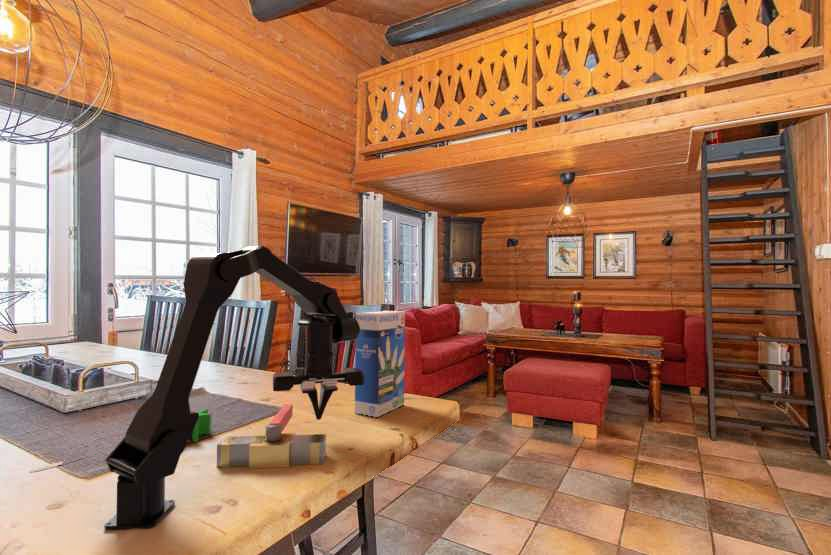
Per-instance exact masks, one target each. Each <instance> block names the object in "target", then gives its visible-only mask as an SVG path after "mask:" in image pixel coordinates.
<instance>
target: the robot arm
mask: <svg viewBox="0 0 831 555" xmlns="http://www.w3.org/2000/svg"><path fill="white" fill-rule="evenodd" d="M255 273H256V274H257V275H260V276H261V277H262V278H263V279H265V280H267V281H269V282H270V283H272V284H274V285H275V286H277V287H278V288H280V289H281V290H282V291H284V292H285V293H287V294H289V295H290V296H291V297H292V298H293V299H294V300H295V303H296V305H297V306H298V307H299V308H300V309H301V310H302V311H303V312H305V313H306V314H305V315H304V316H303V318H302V319H300V320H299V321H298V322H297V326H299V327H305V353H297V354H296V355H295V369H296V370H303V374H301V375H294V374H293V371H276V372H275V373H274V374H273V375H272V391H273V392H288V391H291V390H292V389H293V388H294V386H299V385H300V390H301V393H302V394H307V396H308V398H309V400H310V403H311V405H312V408H313V412H314V416H315V419H316V420H317V421H318V420H321V419H322V417H323V414H324V412H325V409H326V407H327V404H328V402H329V400H330V398H331V396H332V395H333V393H334V392H337V391H338V390H339V387H338V386H337V384H338V383H340V382H341V383H342V382H346V383H347V384H348V385H349V386H350V387H355V386H356V385H364V373H363V372H362V371H361V370H360V369H358V368H355V367H346V368H345V367H344V368H341V369H342V371H341V372H334V370H333V369H334V368H333V367H334V363H333V362H334V361H333V360H334V359H333V358H334V344H340V343H344V342H345V343H346V342H351V341H356V338H357V337H358V335H359V333H360V326H359V324H358V322H357V320H356V317H354V311H346V310H345V308H344V306H343V304H342V302H341V300H340V298H339V293H338V291H337V290H336V289H335V288H333V287H331V286H328V285H326V284H324V283H320V282H318V281H317V282H316V281H313V280H311V279H309V278H307V277H306V275H305V276H304V275H303V274H302V273H301V272H299V271H297V270H296V269H295V268H294V267H292V266H290V265H289V264H288V263H286V262H285V261H284V260H283V259H281V258H280V257H278V256H277V255H275V254H274V253H273V252H272V251H271V250H270V248H268V247H267V246H264V245H255V246H246V247H244V248H241V249H238V250H233V251H229V252H214V253H212V252H210V253H208V252H207V253H199V254H196V255H194V256H192V257H191V258H190V259H189V261H188V262H187V264H186V269H185V273H184V274H185V275H184V279H183V289H184V296H185V303H184V304H185V305H184V307H183V310H182V313H181V315H180V319H179V321H178V324H177V327H176V330H175V333H174V336H173V338H172V340H171V343H170V346H169V350H168V352H167V355H166V358H165V361H164V364H163V366H162V369H161V372H160V374H159V377H158V380H157V383H156V386H155V389H154V391H153V393H152V394H151V395H150V396H149V397H148V399H147V400H146V401H144V403H143V404H141V406H140V407H139V409H137V411H136V413H135V415H134V416H133V419H132V420H131V423H130V424H129V426H128V428H127V430H126V432H125V436H124V438H122V440H121V441H120V442H119V443H118V444H117V445H116V447H114V448H113V449H114V450H113V451H110V453H109V454H108V455H107V457H106V458H105V461H104V462H105V464H106V466H107V467H108V470H109V471H110V472H111V473H115V474H116V475H117V482H116V514H115V515H113V517H111V518H110V519H109V520H108V521H107V522H106V523H104V524H103V526H104V527H103V528H104V529H105V530H118V529H120V530H122V529H140V528H141V529H144V528H145V529H146V528H153V527H155V526H156V525H157V524H158V523H159V522H160V521H161V519H162V518H164V516H165V515H167V513H168V512H169V511H170V510H171V508H173V506H174V505H175V503H176V500H175V499H165V498H166V496H165V494H166V493H165V492H166V491H165V490H166V478H167V477H169V476H172V475H174V474H175V472H176V469H177V466H178V463H179V461H180V458H181V455H182V454H183V453H184V451H185V449H186V447H187V445H188V443H189V442H188V441H190V443H192V442H191V441H192V440H193V439H192V434H193V430H194V427H195V425H196V423H197V421H198V417H199V413H197V412H198V411H193V410H191V408H190V406H191V405H190V397H191V392H192V390H193V388H194V384H195V381H196V379H197V374H198V371H199V368H200V365H201V363H202V361H203V356H204V353H205V351H206V347H207V345H208V342H209V338H210V336H211V332H212V330H213V326H214V323H215V320H216V317H217V314H218V311H219V309H220V308H221V307H222V306H223V305H224V304H225V302H227V300H228V299H229V298H230V297H231V296H233V293H234V292H235V290H236V287H237V285H238V284H239V282H240V280H241V279H242V278H244V277H247V276H250V275H252V274H255ZM316 384H320V393H319V399H318V388H316Z"/></svg>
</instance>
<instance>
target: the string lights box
mask: <svg viewBox="0 0 831 555" xmlns="http://www.w3.org/2000/svg"><path fill="white" fill-rule="evenodd" d="M355 319H356V320H357V322H358V324H359V326H360V333H359V335H358V337H357V338H356V339H355V356H354V357H355V359H354V360H355V364H354V365H355V367H354V368H358V369H360V370H361V371H362V372H363V373H364V385H356V386H354V414H357V415H361V414H363V415H362V416H366V415H368V416H367V417H371V416H373V417H372V418H376V417H378V418H379V416H380V417H381V415H382V416H384V415H386V414H388V413H387V412H389V411H391V410H393V409H395V410H397V409H399V408H398V407H400V406H402V405H404V406H405V349H406V348H405V343H406V342H405V339H406V336H405V335H406V333H405V328H406V324H405V323H406V312H405V310H403V311H400V310H381V311H365V312H356V313H355ZM402 407H403V406H402ZM396 408H397V409H396ZM400 408H401V407H400ZM393 411H394V410H393ZM391 412H392V411H391ZM385 413H386V414H385ZM389 413H390V412H389ZM383 414H384V415H383Z"/></svg>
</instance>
